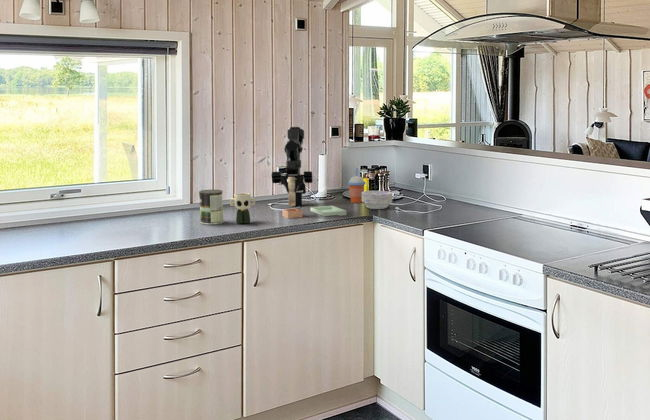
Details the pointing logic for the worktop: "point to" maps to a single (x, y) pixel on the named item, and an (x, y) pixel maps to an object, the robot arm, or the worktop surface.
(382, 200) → the paper bowls
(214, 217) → the coffee can
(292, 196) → the dowel
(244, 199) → the character mug
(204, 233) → the worktop surface
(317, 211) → the sage tray
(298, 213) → the peach square box
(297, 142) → the robot arm
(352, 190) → the cup with straw
